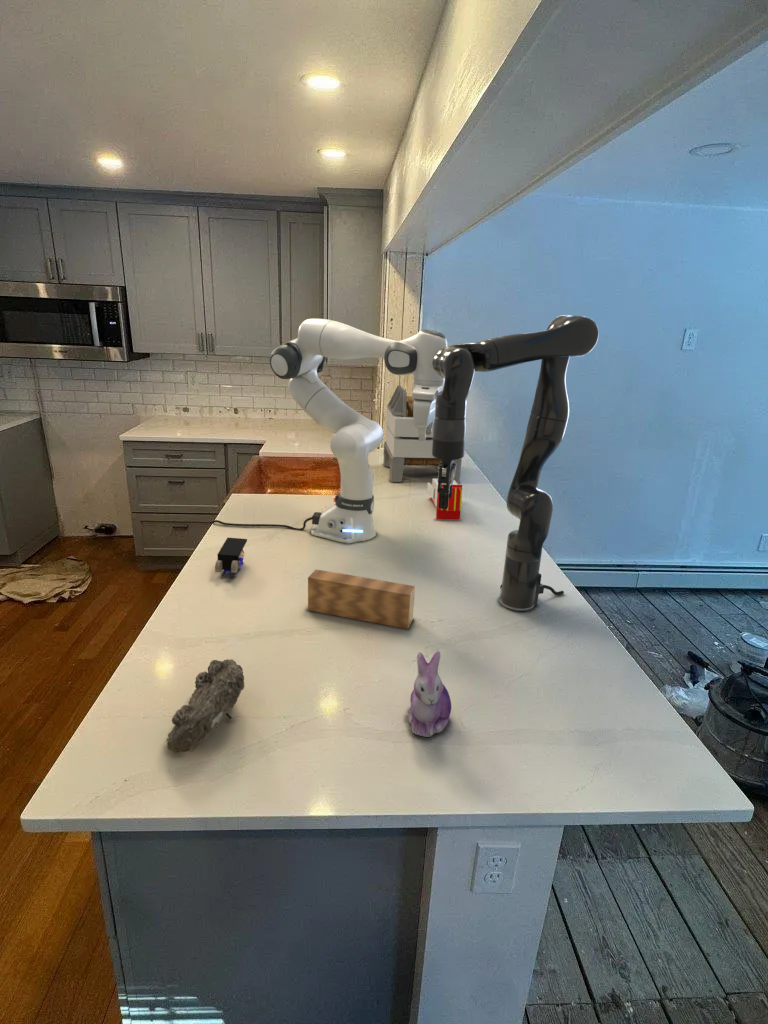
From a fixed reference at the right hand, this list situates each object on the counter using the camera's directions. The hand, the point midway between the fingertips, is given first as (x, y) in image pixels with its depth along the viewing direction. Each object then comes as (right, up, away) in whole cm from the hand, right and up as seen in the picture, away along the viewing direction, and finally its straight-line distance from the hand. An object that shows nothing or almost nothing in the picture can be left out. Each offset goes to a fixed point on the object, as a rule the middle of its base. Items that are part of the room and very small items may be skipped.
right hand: (445, 502), depth 137 cm
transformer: (+2, +16, +138) cm, 139 cm away
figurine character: (-60, -19, +31) cm, 70 cm away
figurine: (-6, -43, -28) cm, 51 cm away
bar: (-21, -29, +10) cm, 37 cm away
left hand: (-3, +20, +30) cm, 36 cm away
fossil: (-48, -41, -29) cm, 69 cm away
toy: (+9, -1, +91) cm, 91 cm away
